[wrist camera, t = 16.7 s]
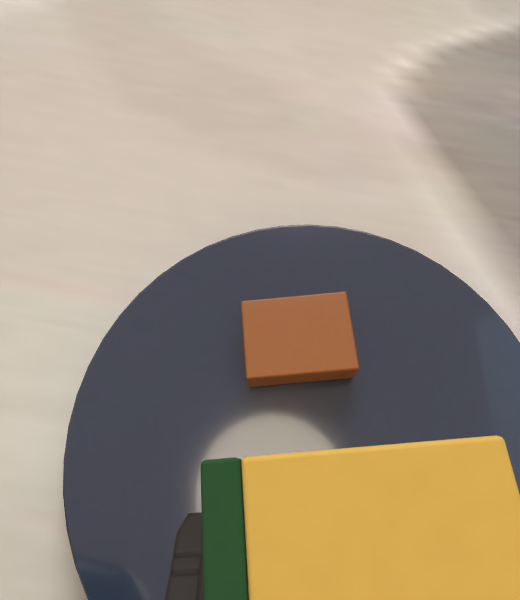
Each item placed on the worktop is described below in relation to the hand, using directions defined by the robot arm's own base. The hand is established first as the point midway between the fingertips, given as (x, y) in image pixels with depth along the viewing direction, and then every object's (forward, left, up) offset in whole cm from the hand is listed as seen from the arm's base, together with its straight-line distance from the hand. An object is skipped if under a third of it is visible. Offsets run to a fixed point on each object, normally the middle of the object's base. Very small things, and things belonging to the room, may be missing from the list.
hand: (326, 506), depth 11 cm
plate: (0, +2, -6) cm, 6 cm away
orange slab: (0, +6, -4) cm, 7 cm away
